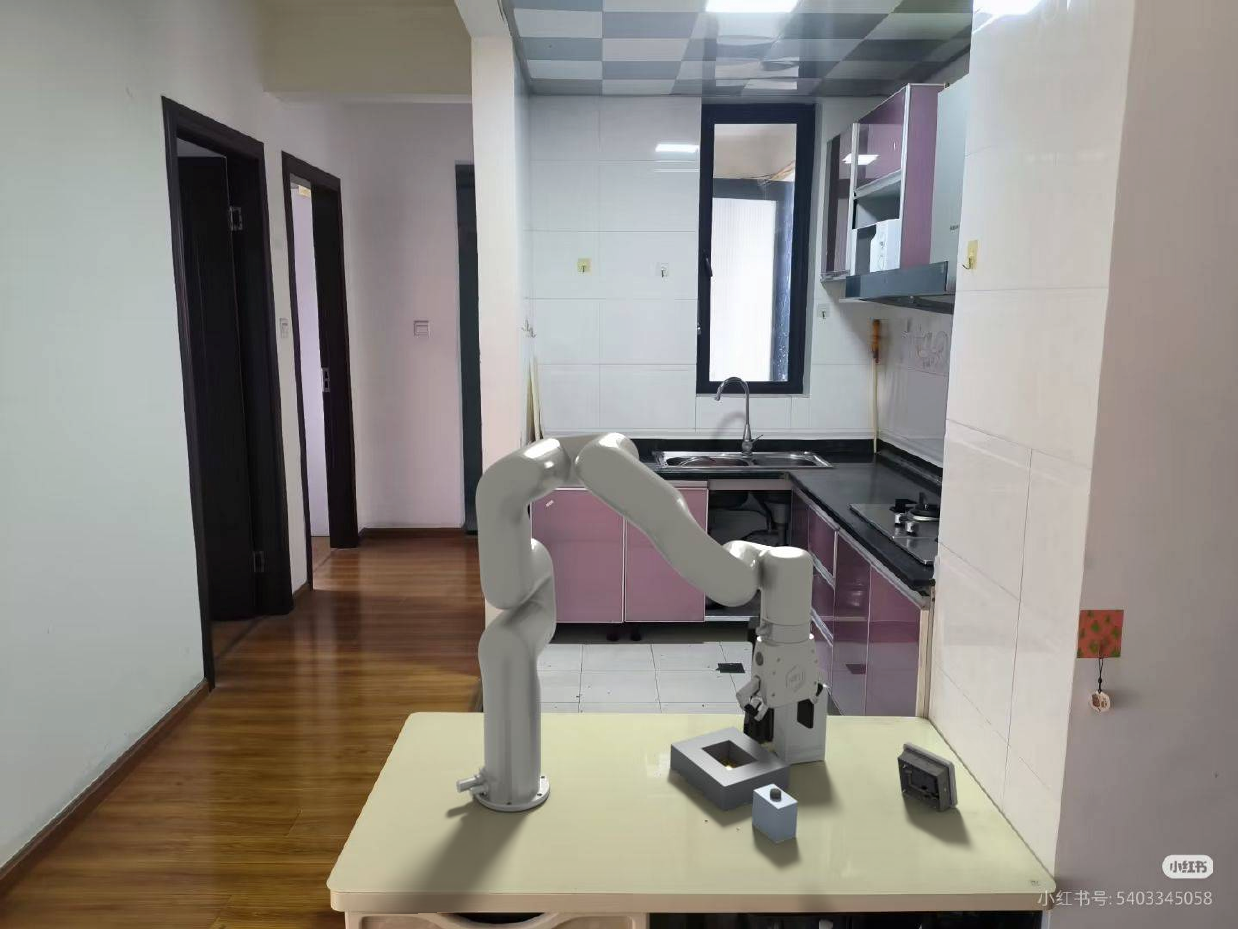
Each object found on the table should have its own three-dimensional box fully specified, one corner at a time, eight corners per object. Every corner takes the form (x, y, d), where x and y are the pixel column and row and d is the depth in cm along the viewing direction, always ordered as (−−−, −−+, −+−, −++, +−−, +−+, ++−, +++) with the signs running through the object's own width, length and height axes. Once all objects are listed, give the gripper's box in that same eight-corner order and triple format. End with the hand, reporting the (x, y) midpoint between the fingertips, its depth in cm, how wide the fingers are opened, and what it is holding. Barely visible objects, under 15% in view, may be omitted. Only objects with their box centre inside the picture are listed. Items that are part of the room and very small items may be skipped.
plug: (776, 843, 140) (778, 804, 139) (752, 824, 145) (753, 785, 144) (795, 836, 142) (798, 797, 141) (771, 817, 147) (773, 779, 146)
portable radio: (774, 745, 170) (781, 620, 166) (742, 742, 172) (748, 617, 167) (775, 726, 178) (782, 606, 173) (745, 723, 179) (750, 603, 174)
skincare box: (812, 746, 171) (816, 672, 168) (826, 762, 165) (830, 686, 162) (770, 750, 169) (774, 675, 166) (783, 766, 163) (787, 690, 160)
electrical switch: (958, 808, 151) (960, 759, 149) (940, 821, 148) (942, 771, 146) (910, 784, 158) (911, 736, 156) (892, 796, 155) (892, 748, 153)
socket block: (723, 811, 149) (724, 786, 148) (670, 767, 162) (670, 744, 161) (789, 789, 156) (790, 765, 155) (732, 748, 169) (733, 726, 168)
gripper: (755, 647, 130) (752, 757, 133) (844, 626, 138) (839, 729, 142) (724, 631, 136) (721, 736, 140) (811, 611, 145) (807, 710, 148)
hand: (781, 732), depth 141 cm, fingers open, 9 cm apart
